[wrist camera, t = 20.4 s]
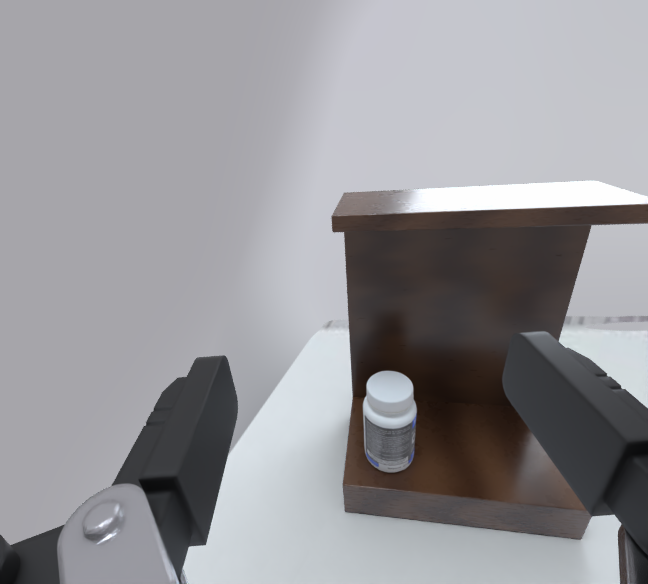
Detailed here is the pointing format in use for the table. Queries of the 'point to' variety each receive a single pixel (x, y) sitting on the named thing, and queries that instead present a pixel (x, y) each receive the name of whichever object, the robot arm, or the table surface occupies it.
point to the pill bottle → (389, 421)
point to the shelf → (465, 341)
